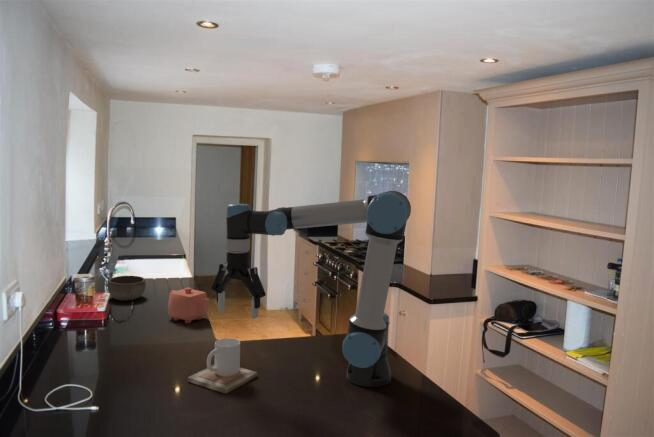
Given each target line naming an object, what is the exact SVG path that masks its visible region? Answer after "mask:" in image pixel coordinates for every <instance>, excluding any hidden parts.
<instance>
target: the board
mask: <svg viewBox="0 0 654 437" xmlns="http://www.w3.org/2000/svg"><path fill="white" fill-rule="evenodd" d="M211 366H212V367H214V364H213V365H211ZM257 377H258V372H257V371H254V370H251V369H247V368H243V367H240V370H239V373H238V374H236V375H234V376H231V377H222V376H218V375H217V374H216V373H215V372H213V371H210V370H209V369H208V368H207V367H206V368H205V369H202V370H200V371H197V373H193V374H192V375H190V376H187V383H192V384H195V385H196V386H200V387H204V388H207V389H210V390H212V391H213V390H214V391H216V392H220V393H223V394H229V393H230V392H232V391H234V390H235V389H237V388H239V387H241V386H243V385H245V384H246V383H248V382H249V381H251V380H253V379H255V378H257Z"/></svg>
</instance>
